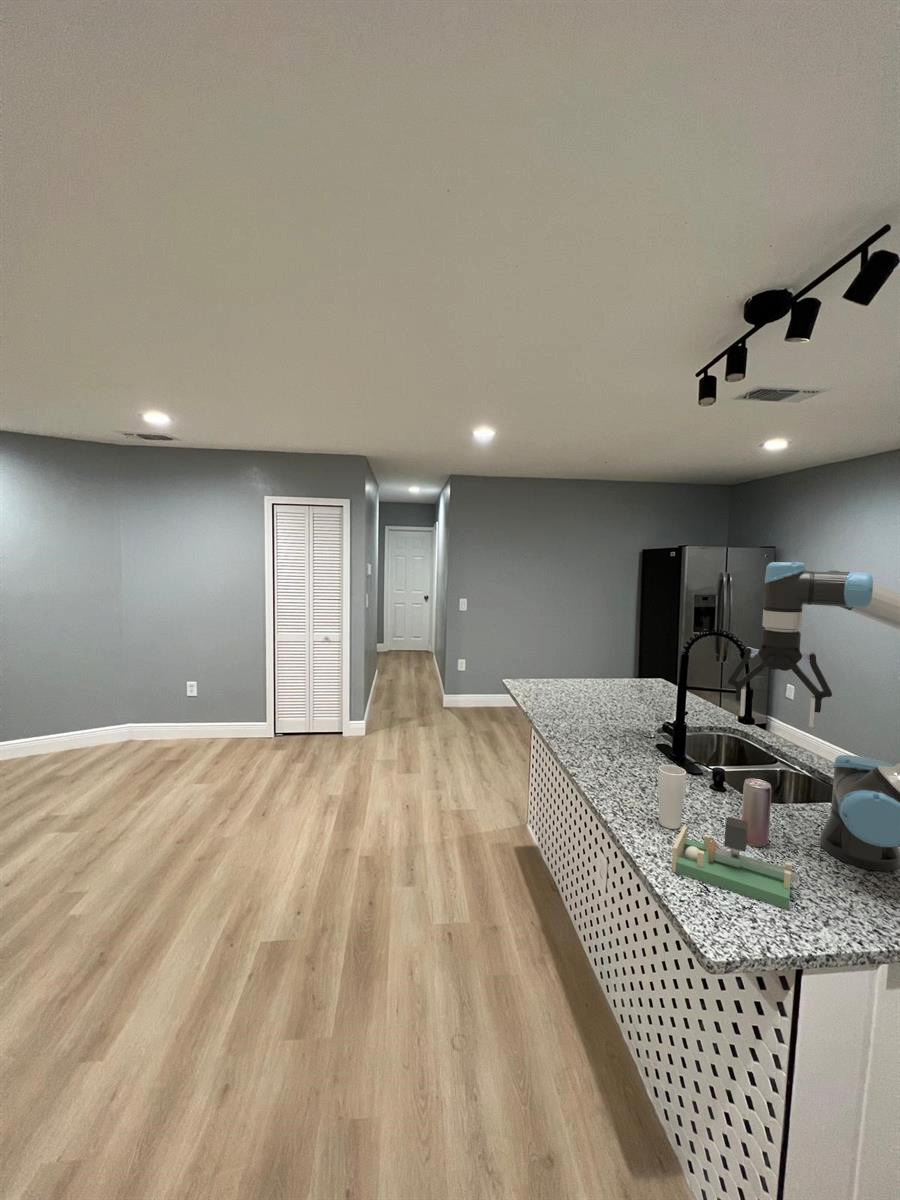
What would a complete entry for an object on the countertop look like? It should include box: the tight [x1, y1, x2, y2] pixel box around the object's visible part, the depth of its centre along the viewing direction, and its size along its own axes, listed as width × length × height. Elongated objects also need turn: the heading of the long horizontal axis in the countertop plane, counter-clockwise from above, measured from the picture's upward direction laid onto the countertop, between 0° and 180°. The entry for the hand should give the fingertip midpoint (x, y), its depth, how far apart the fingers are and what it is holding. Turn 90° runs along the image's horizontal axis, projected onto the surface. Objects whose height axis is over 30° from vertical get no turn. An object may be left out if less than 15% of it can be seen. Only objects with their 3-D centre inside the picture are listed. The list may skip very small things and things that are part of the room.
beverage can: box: [741, 777, 773, 848], centre depth 129 cm, size 6×6×15 cm
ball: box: [685, 846, 699, 863], centre depth 119 cm, size 4×4×4 cm
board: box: [671, 825, 793, 911], centre depth 115 cm, size 22×12×6 cm, turn 55°
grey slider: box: [708, 816, 799, 884], centre depth 112 cm, size 16×4×9 cm, turn 55°
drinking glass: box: [657, 764, 687, 830], centre depth 136 cm, size 7×7×15 cm
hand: (775, 720), depth 121 cm, fingers open, 13 cm apart
